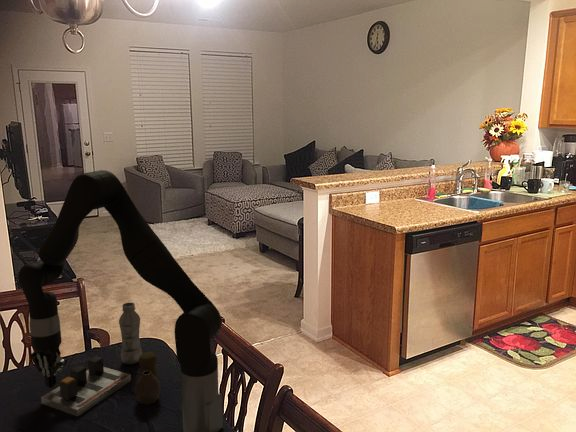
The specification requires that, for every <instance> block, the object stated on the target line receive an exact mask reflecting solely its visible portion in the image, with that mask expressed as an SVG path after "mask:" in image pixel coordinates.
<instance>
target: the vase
mask: <svg viewBox="0 0 576 432" xmlns="http://www.w3.org/2000/svg"><path fill="white" fill-rule="evenodd" d="M134 392H135V393H134V394H135V398H136V400H137V401H138V402H139V403H140V404H142V405H151V404H154V403H156V402H157V400H158V398H159V397H160V394H161V383H160V380H159V378H158V379H157V378H156V377H155V376H154V375H153V374H152V372H151V371H144V372H143V373H142V375H141V377H140V376H139V378H138V380H137V381H136V382H135V387H134Z"/></svg>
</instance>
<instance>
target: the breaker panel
mask: <svg viewBox="0 0 576 432" xmlns="http://www.w3.org/2000/svg"><path fill="white" fill-rule="evenodd" d="M87 365H88V367H87V368H88V369H87V368H86V367H85V366H81V365H77V366H75V367H73V368H71V369H70V370H69V372H70V373H69V374H70V377H71V378H74V380H76V384H77V395H76V396H74V397H73V398H71V399H69V400H67V399H64V398H62V397H61V393H60V385H59V386H58V387H56V388H55V389H53V390H51V391H49V392H47V393H46V394H44V395H42V396H41V397H40V398H41V404H42V405H43V406H44V405H45V406H47V407H50V408H53V409H56V410H59V411H62V412H63V413H67V414H69V415H72V416H74V417H79V416H81V415H83V414H84V413H86V412H87V411H88V410H90V409H91V408H93V407H94V406H96V405H98V404H99V403H100V402H102V401H104V400H105V399H106V398H108V397H109V396H110V395H112V394H114V393H115V392H116V391H118V390H119V389H122V388H123V387H124V386H125V385H127V384H128V383H130V382H131V381H132V375H131V374H130V373H126V372H124V371H119V370H117V369H113V368H112V369H111V368H109V367H106V366H104V359H103V357H100V356H97V355H95V356H92V357H91V358H89V359H87Z"/></svg>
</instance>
